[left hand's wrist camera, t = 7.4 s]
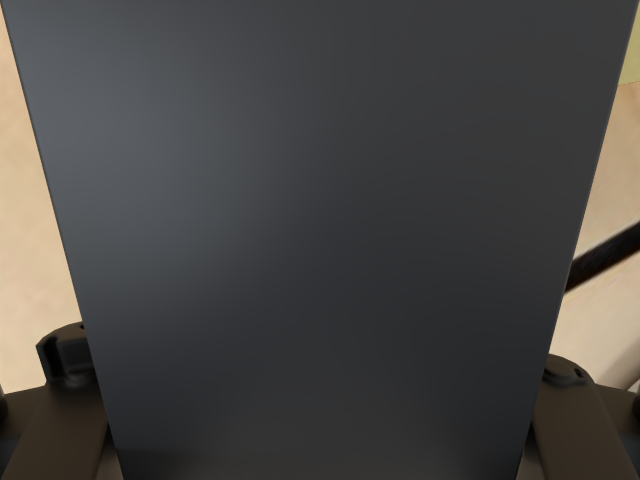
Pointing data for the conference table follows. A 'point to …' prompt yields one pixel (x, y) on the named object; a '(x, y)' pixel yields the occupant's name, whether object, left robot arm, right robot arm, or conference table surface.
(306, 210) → the long box
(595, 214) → the conference table surface
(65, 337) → the left robot arm
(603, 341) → the conference table surface
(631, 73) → the note cube
